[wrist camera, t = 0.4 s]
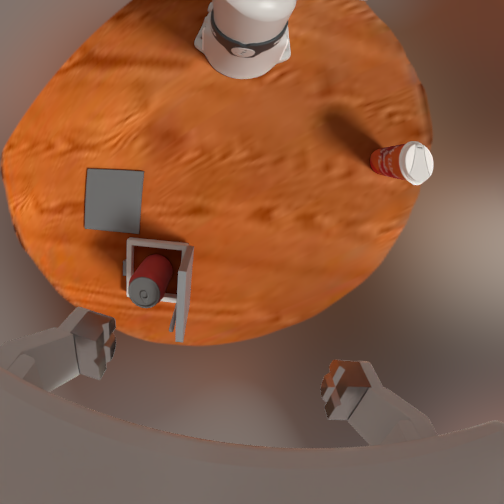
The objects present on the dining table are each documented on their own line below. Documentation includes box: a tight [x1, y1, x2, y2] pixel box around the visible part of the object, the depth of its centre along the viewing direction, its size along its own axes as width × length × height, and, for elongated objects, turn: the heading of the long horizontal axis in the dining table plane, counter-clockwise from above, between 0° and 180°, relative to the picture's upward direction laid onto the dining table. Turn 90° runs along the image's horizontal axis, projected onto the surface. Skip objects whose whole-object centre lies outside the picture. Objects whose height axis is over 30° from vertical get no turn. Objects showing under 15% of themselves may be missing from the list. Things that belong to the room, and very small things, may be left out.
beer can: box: [128, 254, 173, 308], centre depth 51 cm, size 7×7×12 cm
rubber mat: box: [85, 169, 144, 234], centre depth 52 cm, size 12×12×1 cm
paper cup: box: [370, 141, 433, 185], centre depth 49 cm, size 8×8×14 cm
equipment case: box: [123, 237, 194, 342], centre depth 49 cm, size 12×14×16 cm
